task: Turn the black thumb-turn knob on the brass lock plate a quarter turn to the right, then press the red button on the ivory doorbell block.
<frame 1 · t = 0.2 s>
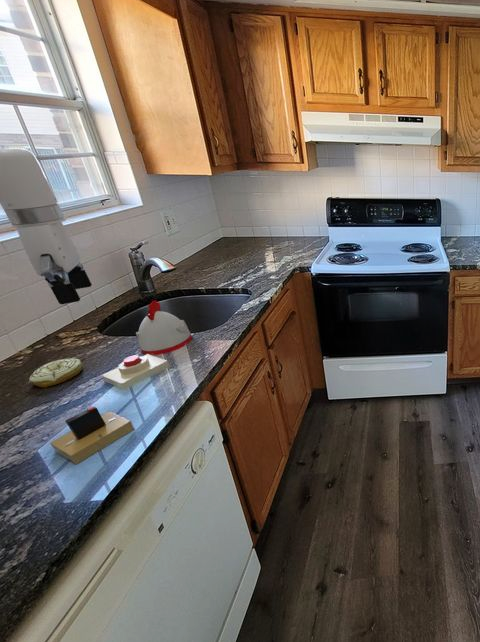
hand: (77, 294, 79), 31 cm above the counter, tool pointing down, fingers open, 9 cm apart
bell button: (132, 361, 104), point 4 cm above the counter, slide at 0.1 cm
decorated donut: (60, 377, 106), on the counter
bell block: (138, 374, 106), on the counter
lock knob: (86, 422, 81), point 5 cm above the counter, hinge at 0.0°
kitchen timer: (167, 344, 121), on the counter
lock plate: (96, 439, 83), on the counter
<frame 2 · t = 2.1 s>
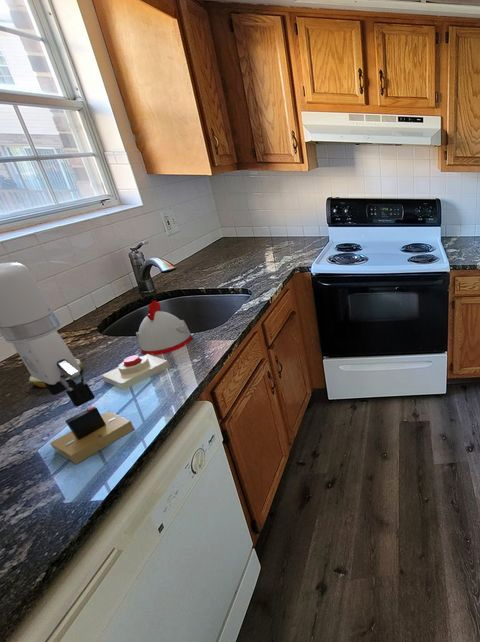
hand: (73, 396, 78), 12 cm above the counter, tool pointing down, fingers open, 9 cm apart
nothing on the counter moved.
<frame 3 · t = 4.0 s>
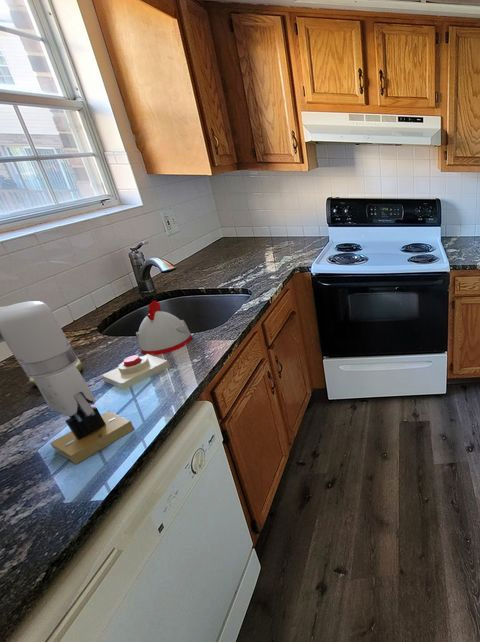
hand: (90, 429, 82), 3 cm above the counter, tool pointing down, fingers closed
lock knob: (86, 422, 81), point 5 cm above the counter, hinge at 0.0°, touching gripper
everything else where it was.
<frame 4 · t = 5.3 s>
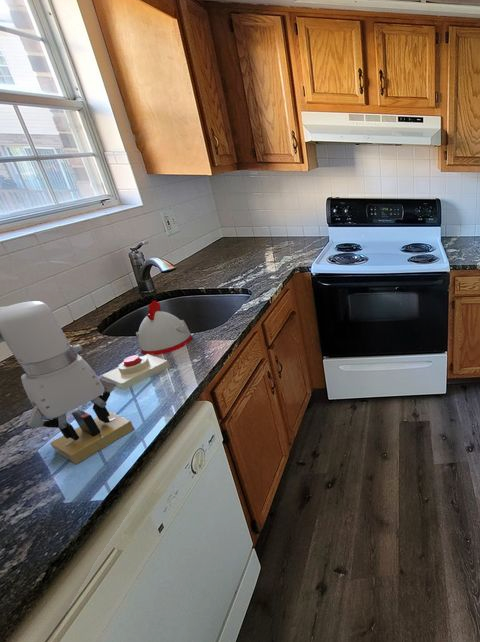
hand: (89, 428, 81), 3 cm above the counter, tool pointing down, fingers open, 4 cm apart
lock knob: (86, 422, 81), point 5 cm above the counter, hinge at -90.1°
everything else where it was.
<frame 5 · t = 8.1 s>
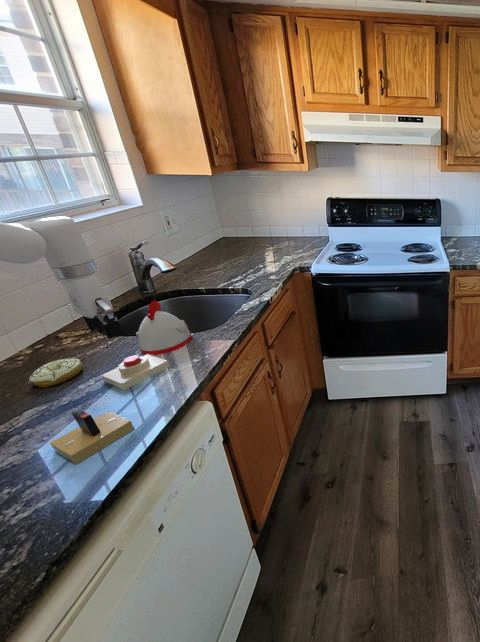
hand: (106, 332, 95), 17 cm above the counter, tool pointing down, fingers open, 9 cm apart
nothing on the counter moved.
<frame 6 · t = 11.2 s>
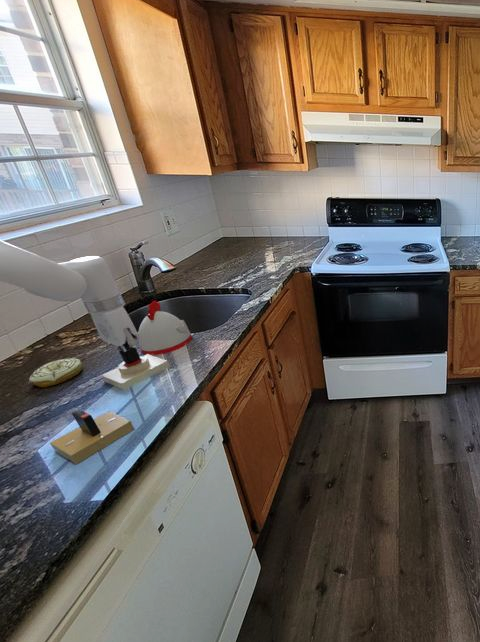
hand: (132, 360, 104), 5 cm above the counter, tool pointing down, fingers closed
bell button: (133, 363, 105), point 4 cm above the counter, slide at -0.8 cm, touching gripper
everything else where it was.
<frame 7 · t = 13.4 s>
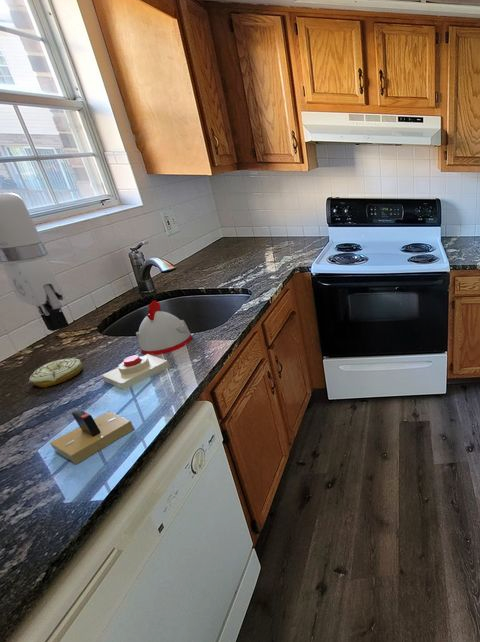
hand: (58, 328, 86), 22 cm above the counter, tool pointing down, fingers closed
bell button: (132, 361, 104), point 4 cm above the counter, slide at 0.1 cm
everything else where it was.
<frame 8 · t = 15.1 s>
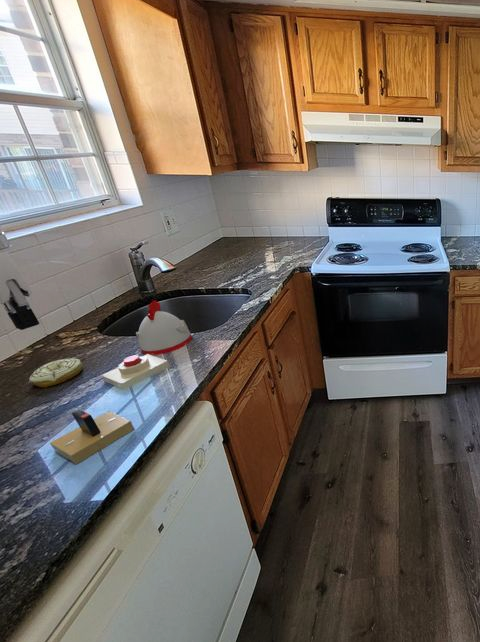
hand: (28, 326, 80), 25 cm above the counter, tool pointing down, fingers closed
nothing on the counter moved.
at the end: lock knob at -90° (first picture: +0°); bell button pushed in 1.1 cm at the most during the clip, back to where it started at the end; bell button slide at 0.1 cm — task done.
